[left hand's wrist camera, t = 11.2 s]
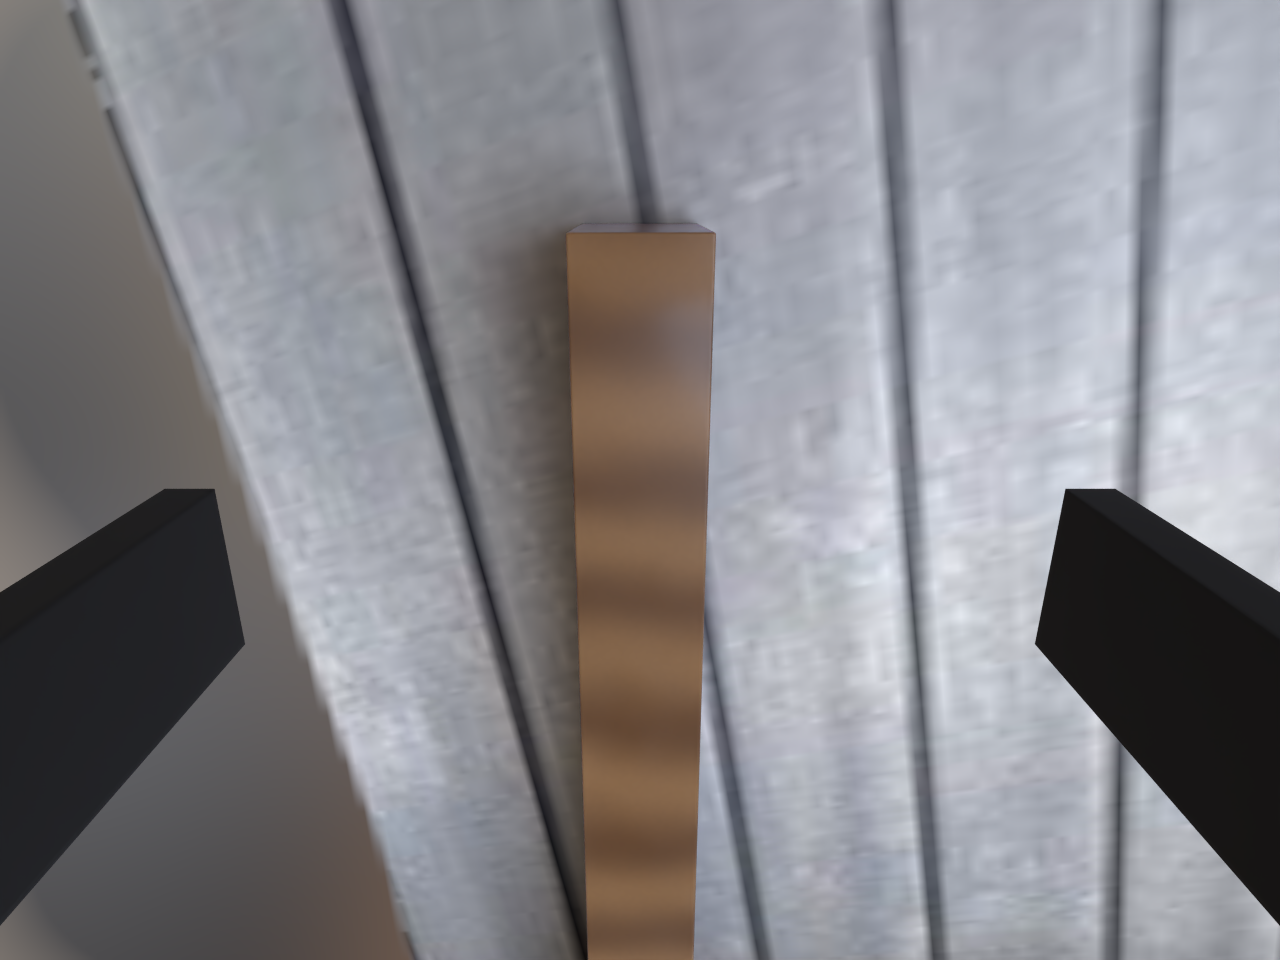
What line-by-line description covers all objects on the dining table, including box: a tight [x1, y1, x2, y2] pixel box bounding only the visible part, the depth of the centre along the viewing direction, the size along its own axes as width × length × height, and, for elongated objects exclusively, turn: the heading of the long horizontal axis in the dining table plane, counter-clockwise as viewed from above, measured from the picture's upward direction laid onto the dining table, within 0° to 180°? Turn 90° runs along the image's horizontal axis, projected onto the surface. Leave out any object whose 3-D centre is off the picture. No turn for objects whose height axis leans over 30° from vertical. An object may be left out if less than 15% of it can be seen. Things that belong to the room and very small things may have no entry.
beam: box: [566, 224, 716, 960], centre depth 40 cm, size 61×5×8 cm, turn 0°
